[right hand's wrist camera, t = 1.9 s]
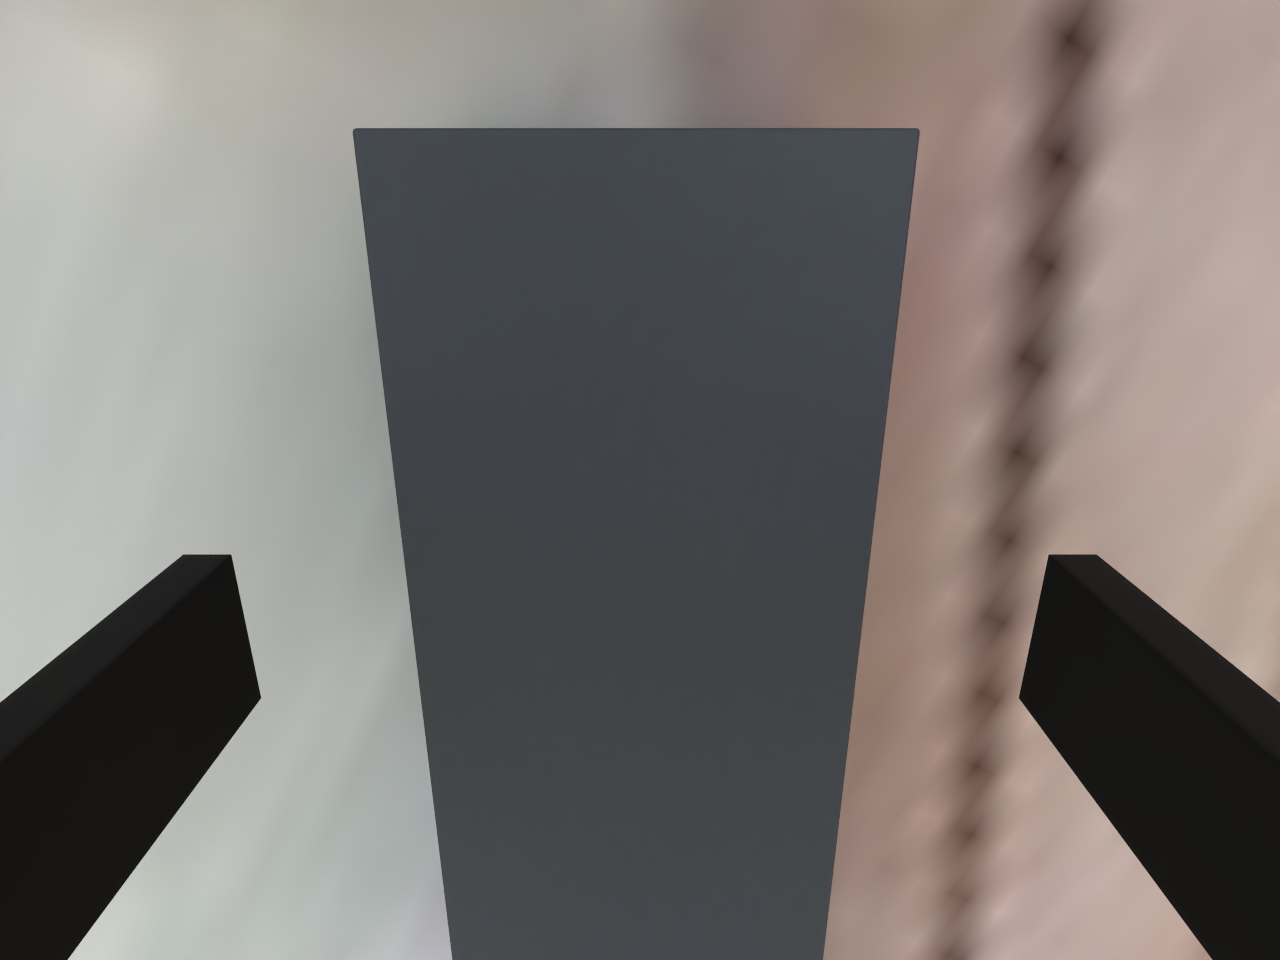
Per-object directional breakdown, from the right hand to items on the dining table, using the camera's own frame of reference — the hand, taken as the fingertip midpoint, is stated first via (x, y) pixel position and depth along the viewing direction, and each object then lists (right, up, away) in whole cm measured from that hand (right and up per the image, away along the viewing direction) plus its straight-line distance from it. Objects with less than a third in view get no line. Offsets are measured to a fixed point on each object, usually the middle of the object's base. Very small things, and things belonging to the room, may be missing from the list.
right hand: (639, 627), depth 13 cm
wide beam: (0, -22, +20) cm, 30 cm away
